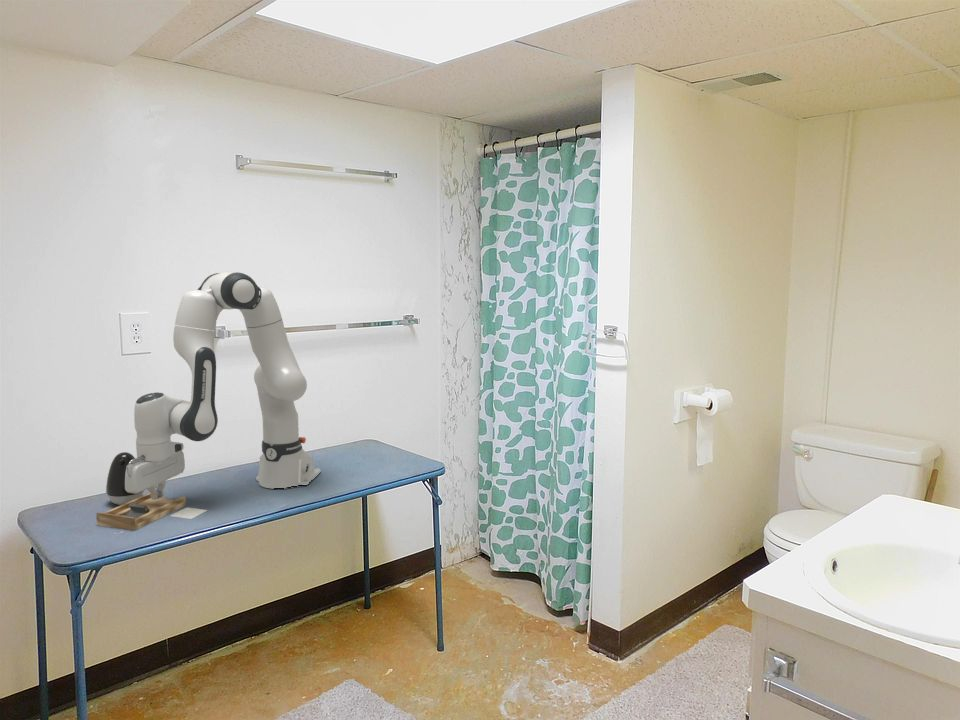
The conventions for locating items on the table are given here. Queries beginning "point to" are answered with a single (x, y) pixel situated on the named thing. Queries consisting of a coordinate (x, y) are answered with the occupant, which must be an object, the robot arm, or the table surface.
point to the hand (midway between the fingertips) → (157, 497)
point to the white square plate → (189, 513)
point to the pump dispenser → (119, 480)
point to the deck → (157, 511)
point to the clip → (137, 510)
